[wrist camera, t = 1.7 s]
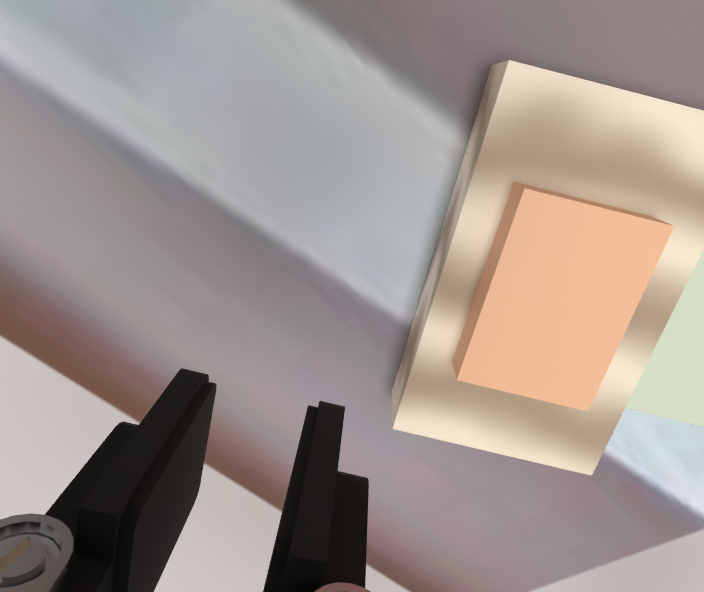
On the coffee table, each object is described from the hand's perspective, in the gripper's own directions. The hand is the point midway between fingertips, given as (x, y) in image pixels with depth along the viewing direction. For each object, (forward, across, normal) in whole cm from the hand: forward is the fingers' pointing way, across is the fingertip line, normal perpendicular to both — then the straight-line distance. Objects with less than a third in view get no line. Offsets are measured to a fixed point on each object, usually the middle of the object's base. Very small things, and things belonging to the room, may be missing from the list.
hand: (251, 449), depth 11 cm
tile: (+17, -12, 0) cm, 21 cm away
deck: (+21, -12, 0) cm, 24 cm away
